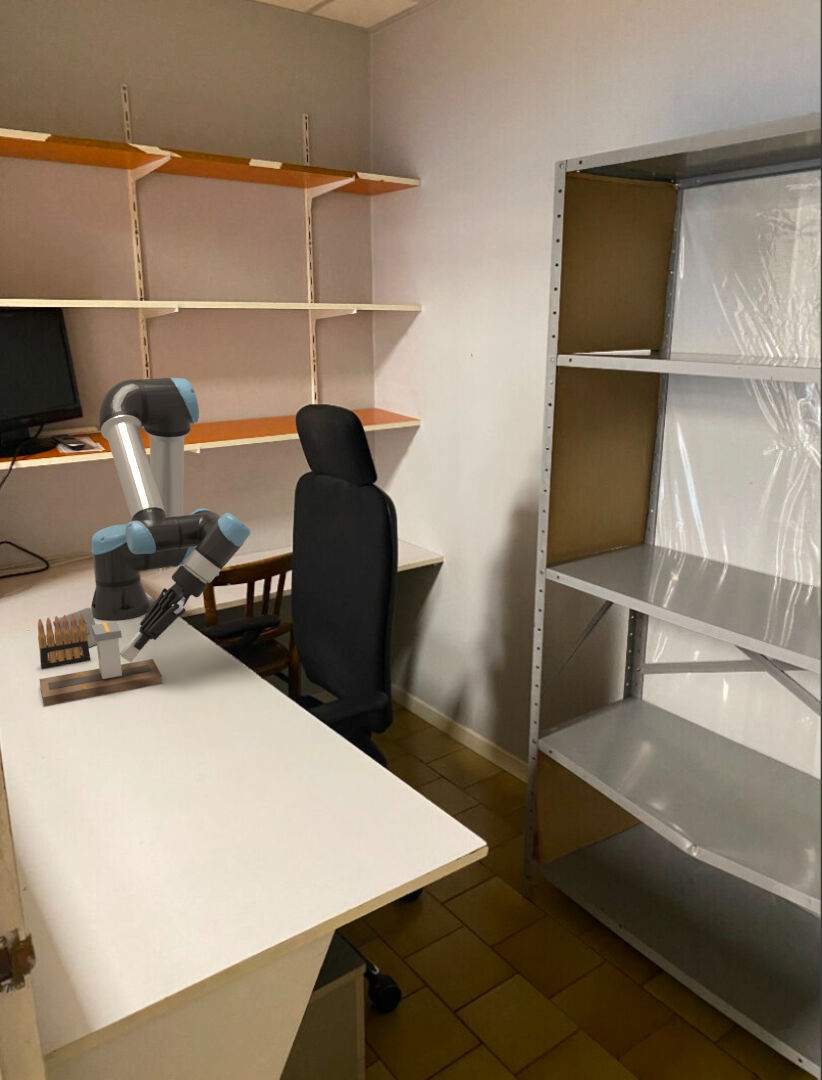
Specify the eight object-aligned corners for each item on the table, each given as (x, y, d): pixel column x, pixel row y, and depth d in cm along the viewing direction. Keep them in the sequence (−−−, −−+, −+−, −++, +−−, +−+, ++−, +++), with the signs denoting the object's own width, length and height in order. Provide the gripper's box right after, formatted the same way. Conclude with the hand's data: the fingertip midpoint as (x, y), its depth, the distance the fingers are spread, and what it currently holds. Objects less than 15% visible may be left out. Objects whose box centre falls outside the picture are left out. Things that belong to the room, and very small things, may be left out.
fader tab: (120, 665, 185) (116, 620, 182) (125, 676, 179) (121, 629, 177) (96, 669, 183) (91, 624, 180) (100, 681, 177) (95, 633, 174)
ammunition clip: (41, 669, 189) (35, 620, 186) (40, 666, 191) (34, 618, 188) (90, 660, 194) (85, 612, 191) (89, 658, 196) (84, 610, 193)
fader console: (153, 666, 190) (152, 658, 190) (162, 683, 182) (161, 674, 181) (40, 687, 180) (39, 678, 179) (44, 706, 171) (42, 696, 171)
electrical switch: (70, 656, 196) (63, 619, 195) (55, 654, 199) (49, 617, 197) (101, 643, 204) (95, 607, 202) (87, 641, 207) (81, 606, 205)
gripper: (215, 592, 180) (144, 677, 177) (200, 575, 192) (133, 656, 188) (189, 572, 177) (116, 659, 173) (175, 557, 188) (106, 639, 185)
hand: (125, 658), depth 181 cm, fingers closed
